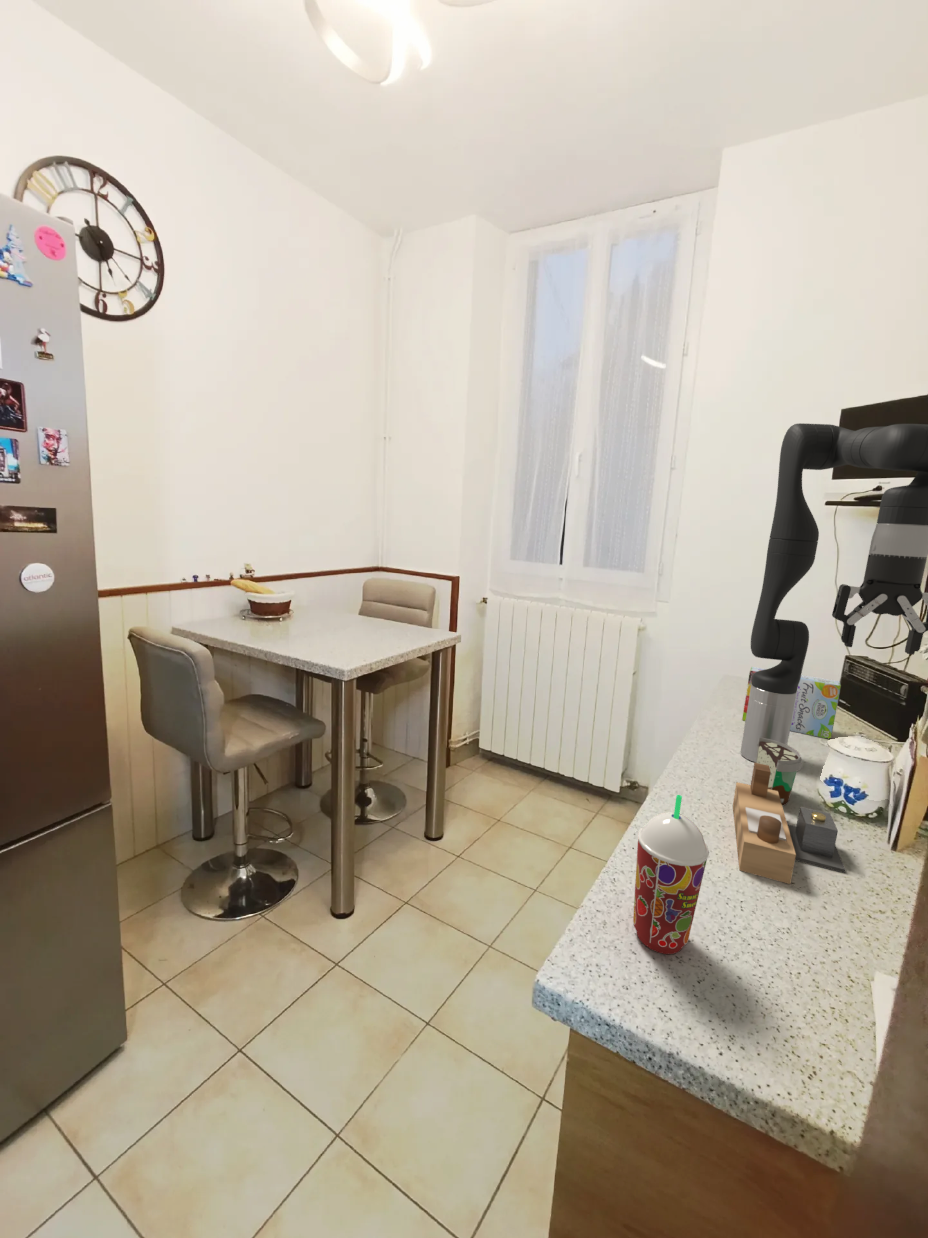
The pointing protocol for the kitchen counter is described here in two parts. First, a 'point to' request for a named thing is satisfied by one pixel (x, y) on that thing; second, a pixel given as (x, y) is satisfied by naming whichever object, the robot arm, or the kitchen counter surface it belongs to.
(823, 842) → the grey box
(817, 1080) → the kitchen counter surface
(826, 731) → the snack box
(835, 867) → the mat
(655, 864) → the smoothie
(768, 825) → the plane body
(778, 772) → the food container
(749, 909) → the kitchen counter surface
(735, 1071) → the kitchen counter surface
